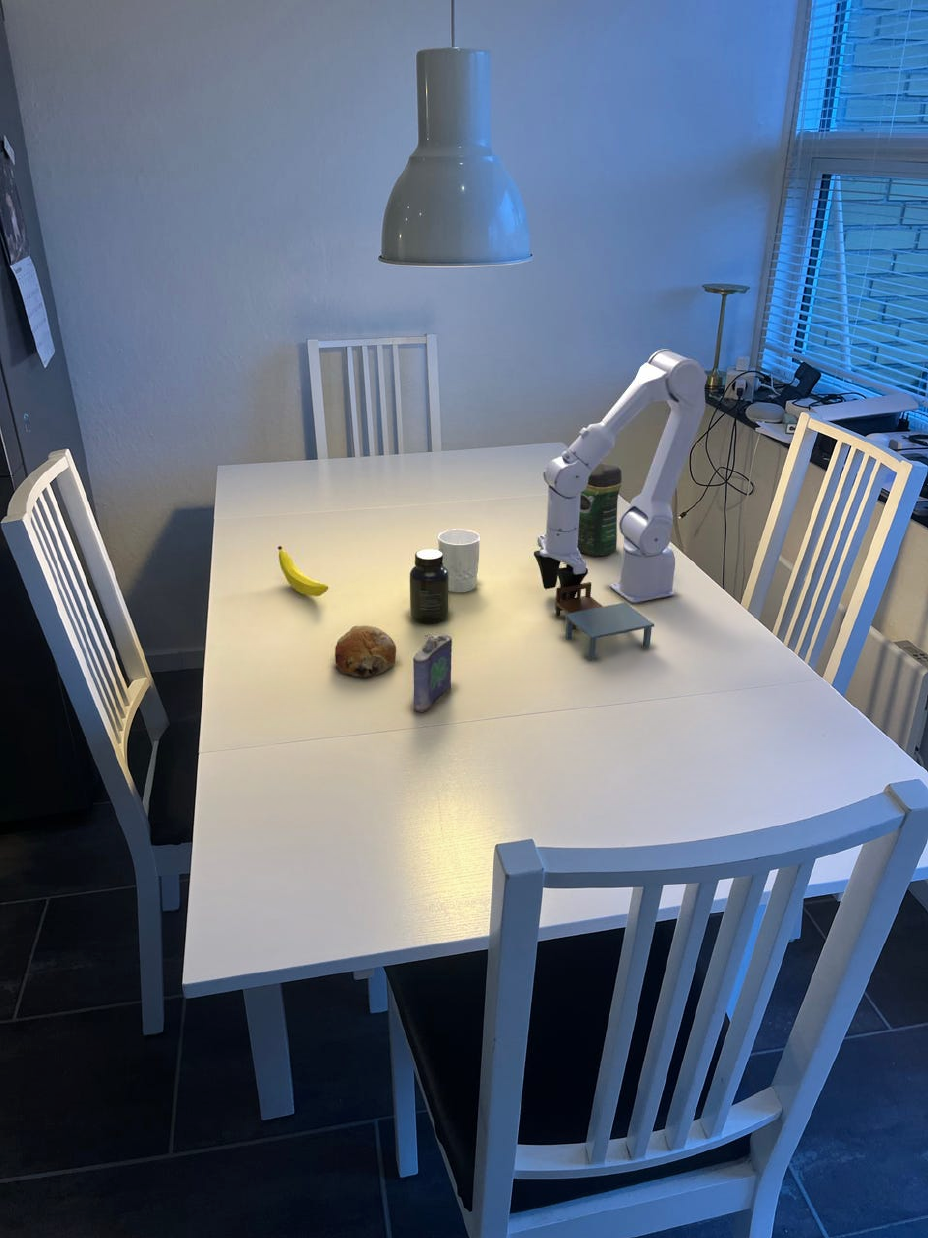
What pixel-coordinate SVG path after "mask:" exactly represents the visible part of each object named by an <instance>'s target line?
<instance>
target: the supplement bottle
mask: <svg viewBox="0 0 928 1238" xmlns="http://www.w3.org/2000/svg"><path fill="white" fill-rule="evenodd" d="M449 603H450V591H449V573H448V571H447V569H446V568H445V567H444V566H443V554H442V552H440V551H439V549H434V548H425V549H421V550H418V551H416V552H415V553H414V566H413V567H412V568H411V569H410V571H409V609H410V612H409V613H410V617H411V618H412V620H413V621H415V622H416V623H419V624H423V625H435V624H439V623H442V622H445V621H446V620H447V619H448V617H449V615H450V604H449Z"/></svg>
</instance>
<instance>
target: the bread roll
mask: <svg viewBox="0 0 928 1238" xmlns="http://www.w3.org/2000/svg"><path fill="white" fill-rule="evenodd" d="M396 654H397V645H396V643H395V641H394V639H393V638H392V637H391V636H390V635H389V634H388V633H387V632H385V631H383V630H382V629H380V628H378V627H375V626H372V625H353V626H352V627H351V628H350V629H349V630H348V631H347V632H346V633H344V635H342V636H340V638H339V639H338V640H337V643H336V645H335V648H334V658H335V659H334V660H335V665H336V667H337V668H338V669H339V670H340V672H342V673H343V674H344V675H347V676H352V677H358V678H361V677H363V678H368V677H374V676H377V675H380V674H382V673H384V672H386V671H388V670H390V669H391V668H392V666H393V665H394V664H396V660H397V659H396V658H397V655H396Z"/></svg>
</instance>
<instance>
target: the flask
mask: <svg viewBox="0 0 928 1238" xmlns="http://www.w3.org/2000/svg"><path fill="white" fill-rule="evenodd" d="M423 639H424V640H425V639H426V641H425V643H424V644H423V645H422V646H421V647H420V648H419V649H418V650H417V652H416V653H415V654H414V655H413V658H412V663H413V666H412V667H413V669H412V670H413V708H414V709H413V710H414V711H415V712H420V713H424V712H427V711H429V710H431V709H432V707H433V705H435V704H437V703H438V702H439V701H440V699H441V697H444V695H445V694H447V693H448V692H450V691H451V690H452V658H453V657H452V653H453V652H452V651H453V648H452V647H453V638H452V637H451V635H448V634H440V635H438V636H436V637H435V636H434V635H433V634H431V633H426V634H424V637H423Z"/></svg>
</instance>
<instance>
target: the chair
mask: <svg viewBox="0 0 928 1238" xmlns="http://www.w3.org/2000/svg"><path fill="white" fill-rule="evenodd" d="M555 590H556V591H555V603H554V611H555V617H557V618H559V617H561V613H562V612H564V614H569V613H574V612H579V611H584V610H589V609H594V608H599V607H604V605H602V604H601V603H600V602H598V601H597V600H596V599H595V598H594V597H592V596H591V595H592V582H590V581H588V582H581V584H576V585H571V586H565V587H556V589H555ZM575 590H577V593H576V596H575V598H571V599H570V591H575ZM582 590H585V592H584V595H583V596H582ZM565 592H566V600H561V594H562V593H565ZM577 629H578V628H577V627H576V626H575V625H574V624H573V632H575V631H577Z"/></svg>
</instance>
